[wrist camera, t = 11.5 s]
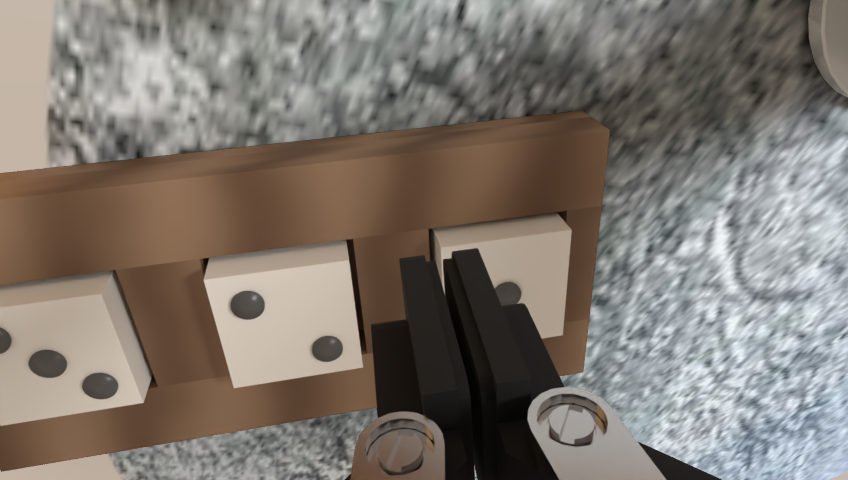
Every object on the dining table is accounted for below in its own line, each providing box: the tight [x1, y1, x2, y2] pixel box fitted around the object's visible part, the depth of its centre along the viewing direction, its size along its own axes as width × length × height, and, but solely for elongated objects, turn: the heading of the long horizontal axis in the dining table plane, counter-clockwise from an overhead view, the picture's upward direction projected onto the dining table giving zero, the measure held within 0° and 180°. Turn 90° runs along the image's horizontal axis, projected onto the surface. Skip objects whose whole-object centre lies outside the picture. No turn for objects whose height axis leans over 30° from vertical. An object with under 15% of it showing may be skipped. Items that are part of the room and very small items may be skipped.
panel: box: [0, 111, 610, 471], centre depth 28 cm, size 30×14×3 cm, turn 93°
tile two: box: [204, 240, 363, 388], centre depth 27 cm, size 6×6×3 cm
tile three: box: [0, 270, 153, 426], centre depth 26 cm, size 6×6×3 cm
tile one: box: [429, 212, 572, 339], centre depth 29 cm, size 6×6×3 cm
